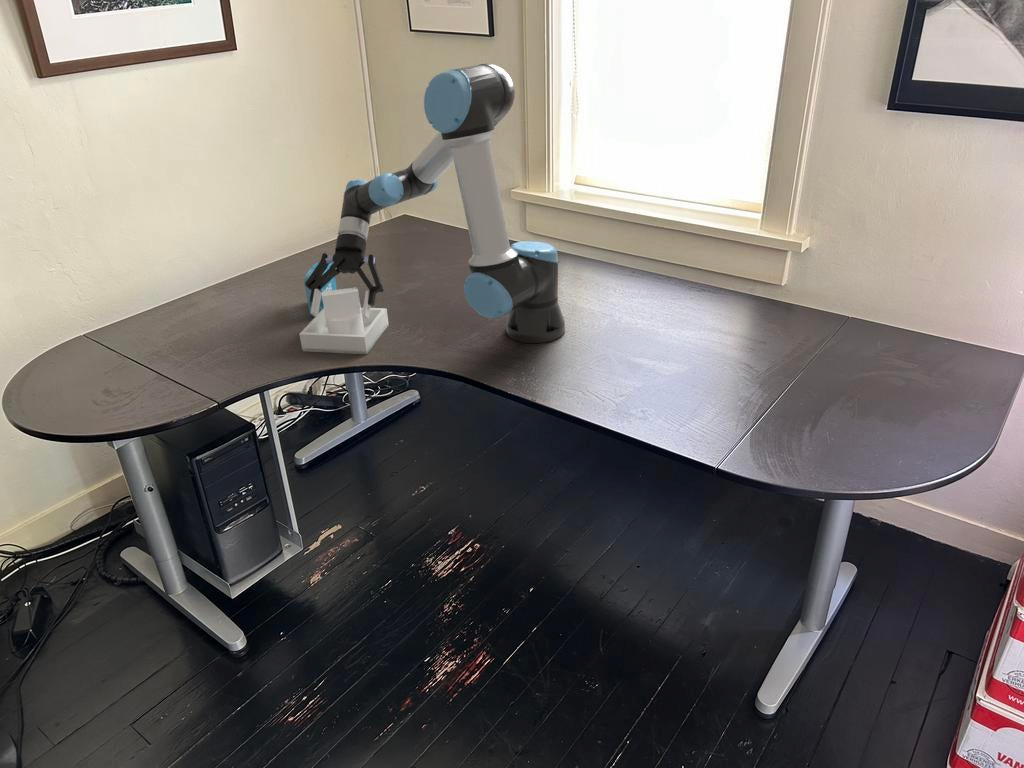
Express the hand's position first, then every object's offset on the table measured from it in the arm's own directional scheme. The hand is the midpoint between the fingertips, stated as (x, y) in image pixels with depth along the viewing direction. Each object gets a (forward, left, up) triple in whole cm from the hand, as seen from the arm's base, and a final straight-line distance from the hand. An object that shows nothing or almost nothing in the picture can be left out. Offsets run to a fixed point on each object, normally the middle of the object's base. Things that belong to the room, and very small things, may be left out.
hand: (339, 316), depth 187 cm
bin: (0, -2, -7) cm, 8 cm away
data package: (+13, -19, -7) cm, 24 cm away
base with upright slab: (0, -2, -7) cm, 7 cm away
